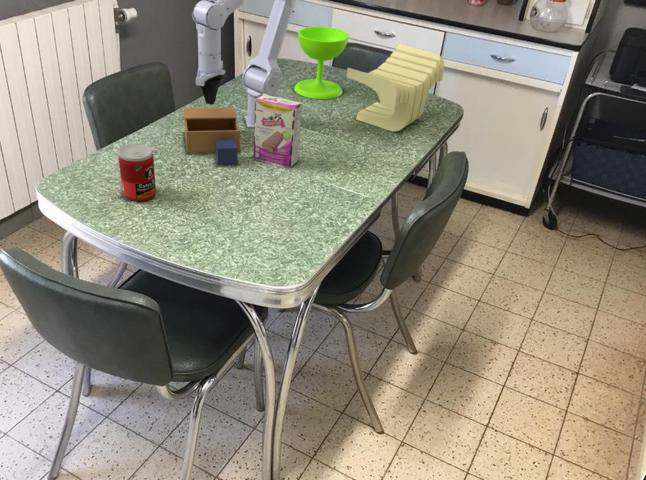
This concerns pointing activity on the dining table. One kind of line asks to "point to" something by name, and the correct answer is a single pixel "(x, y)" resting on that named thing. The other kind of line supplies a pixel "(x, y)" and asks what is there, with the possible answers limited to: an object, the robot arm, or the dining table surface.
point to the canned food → (137, 171)
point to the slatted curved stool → (400, 87)
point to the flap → (210, 113)
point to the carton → (209, 134)
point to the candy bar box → (277, 129)
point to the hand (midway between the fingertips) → (210, 103)
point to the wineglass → (321, 59)
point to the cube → (226, 152)
